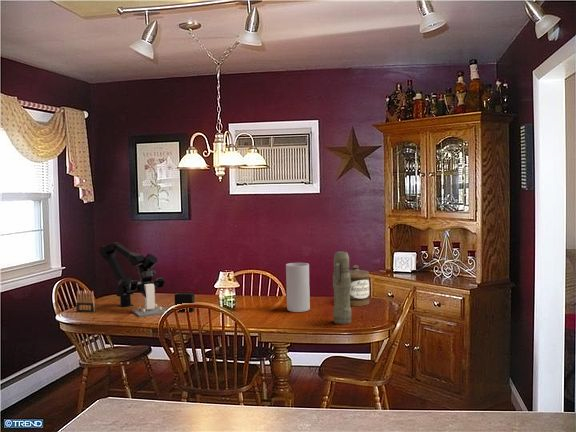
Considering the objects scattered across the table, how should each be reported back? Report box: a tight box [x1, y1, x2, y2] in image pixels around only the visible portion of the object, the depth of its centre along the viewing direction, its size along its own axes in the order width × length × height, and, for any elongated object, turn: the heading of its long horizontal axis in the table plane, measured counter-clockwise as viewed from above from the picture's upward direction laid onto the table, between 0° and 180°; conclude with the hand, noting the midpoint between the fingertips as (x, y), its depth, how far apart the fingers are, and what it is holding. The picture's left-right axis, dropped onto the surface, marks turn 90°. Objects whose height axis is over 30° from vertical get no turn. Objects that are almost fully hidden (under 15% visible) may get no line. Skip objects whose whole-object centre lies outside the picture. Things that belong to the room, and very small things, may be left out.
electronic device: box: [174, 292, 196, 313], centre depth 318 cm, size 4×10×10 cm, turn 78°
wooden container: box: [349, 264, 370, 307], centre depth 328 cm, size 15×15×22 cm
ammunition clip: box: [76, 290, 96, 313], centre depth 323 cm, size 11×2×12 cm, turn 78°
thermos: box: [332, 250, 352, 325], centre depth 286 cm, size 9×12×35 cm
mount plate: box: [131, 303, 167, 318], centre depth 318 cm, size 16×16×3 cm
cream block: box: [144, 284, 156, 309], centre depth 317 cm, size 4×4×13 cm
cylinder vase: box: [285, 262, 311, 313], centre depth 315 cm, size 12×12×25 cm
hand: (150, 296), depth 316 cm, fingers closed on cream block, 4 cm apart
